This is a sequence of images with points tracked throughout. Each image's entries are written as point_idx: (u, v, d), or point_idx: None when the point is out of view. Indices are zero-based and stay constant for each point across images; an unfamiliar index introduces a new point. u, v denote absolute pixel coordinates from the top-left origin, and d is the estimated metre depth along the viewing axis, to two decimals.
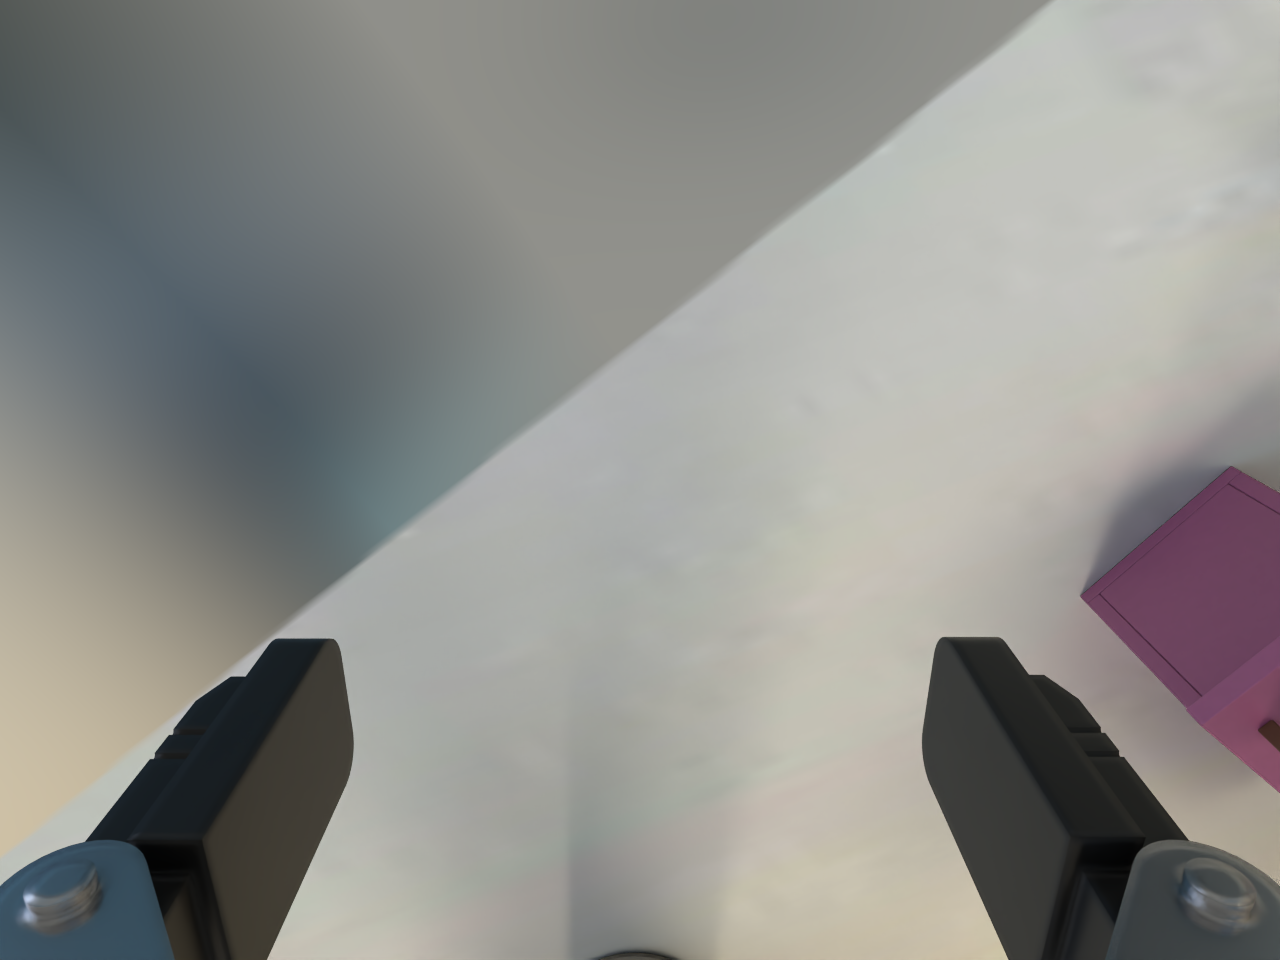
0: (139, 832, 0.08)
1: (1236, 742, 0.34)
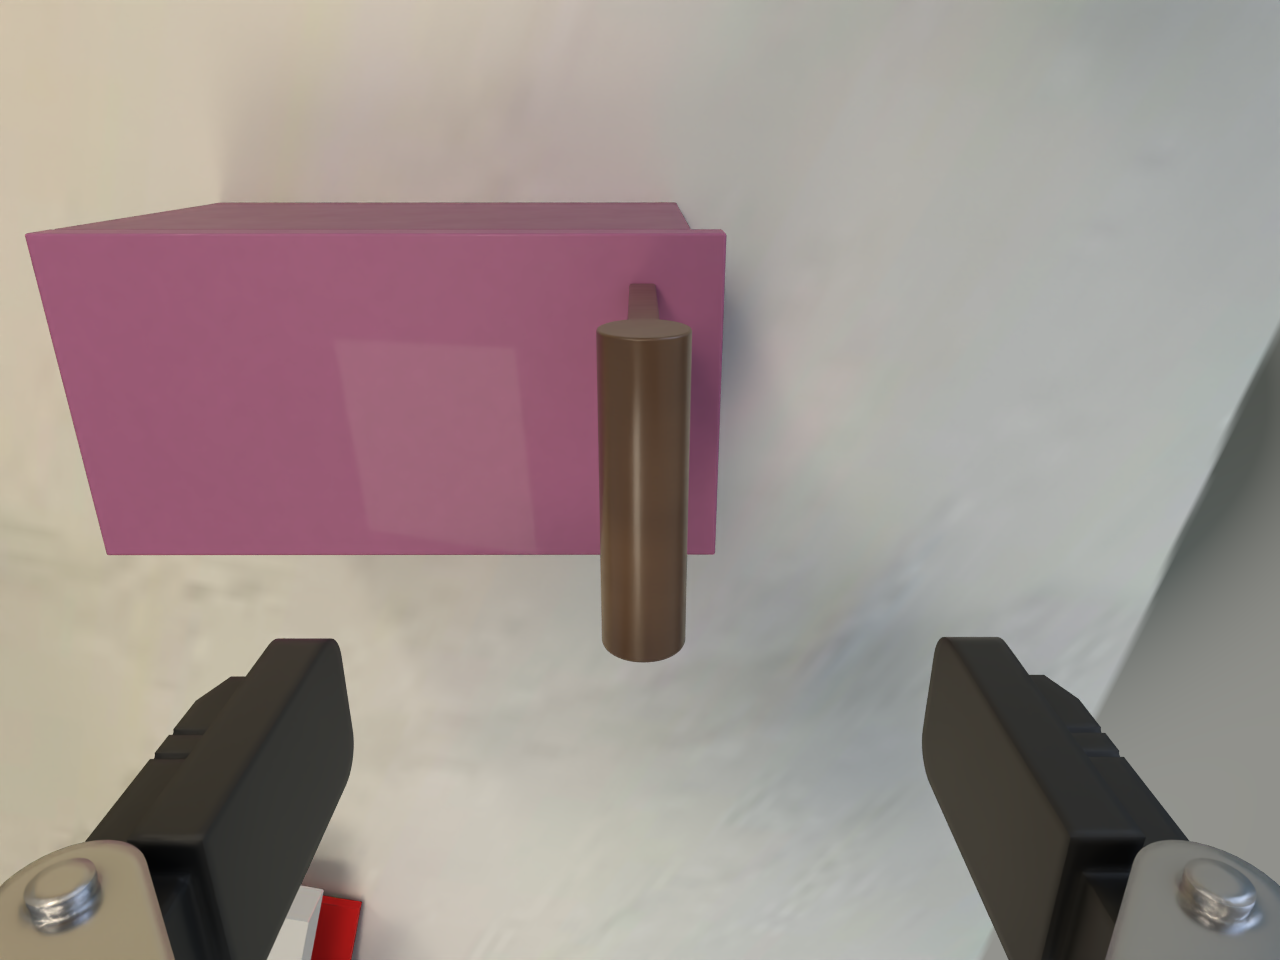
0: (139, 832, 0.08)
1: (659, 250, 0.23)
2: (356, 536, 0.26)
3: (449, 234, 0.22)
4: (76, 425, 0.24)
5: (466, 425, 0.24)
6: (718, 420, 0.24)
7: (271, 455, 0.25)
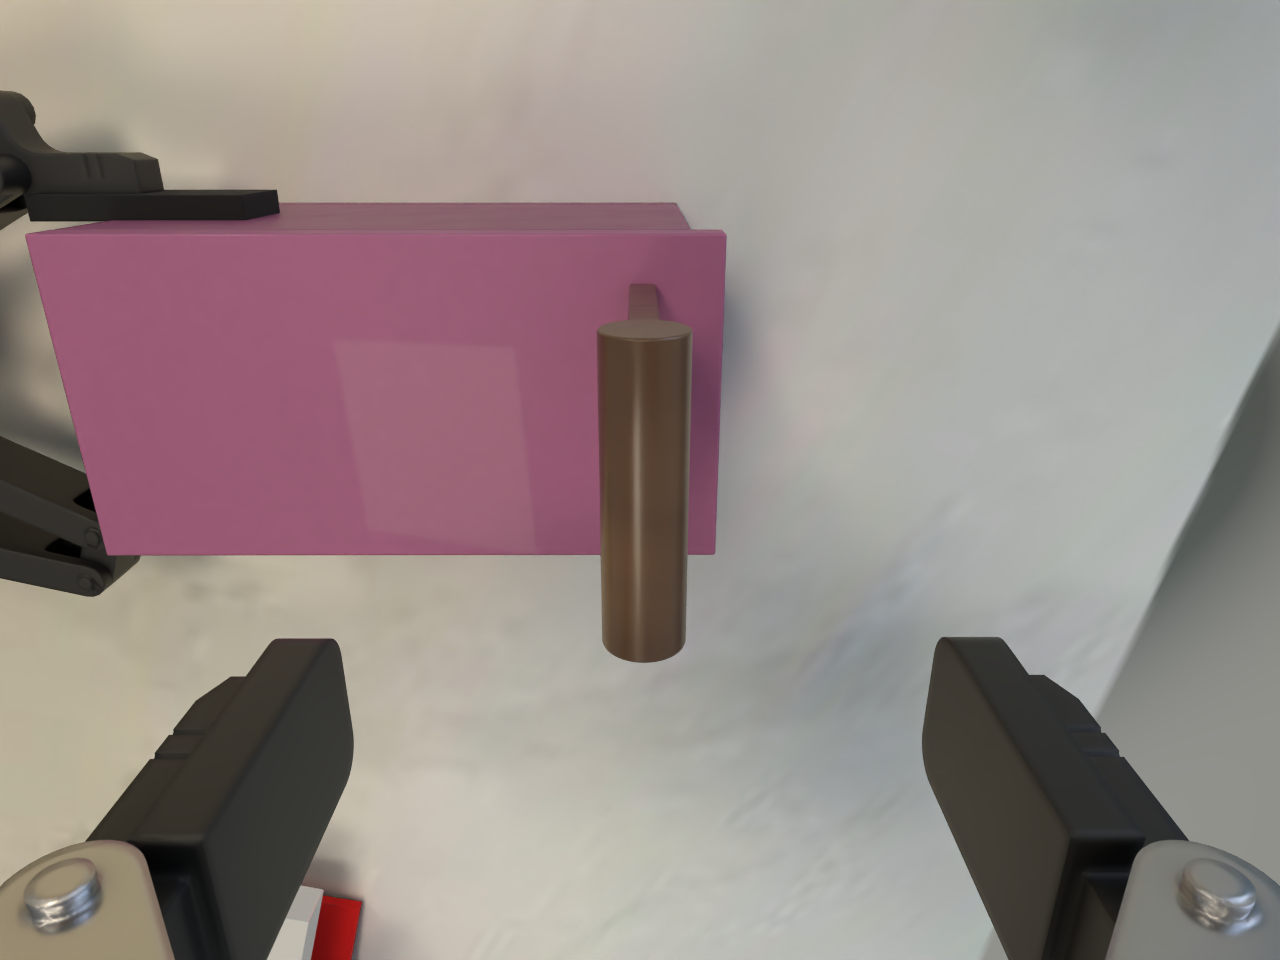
0: (139, 832, 0.08)
1: (659, 250, 0.23)
2: (356, 536, 0.26)
3: (449, 234, 0.22)
4: (76, 426, 0.24)
5: (466, 425, 0.24)
6: (718, 420, 0.24)
7: (271, 455, 0.25)
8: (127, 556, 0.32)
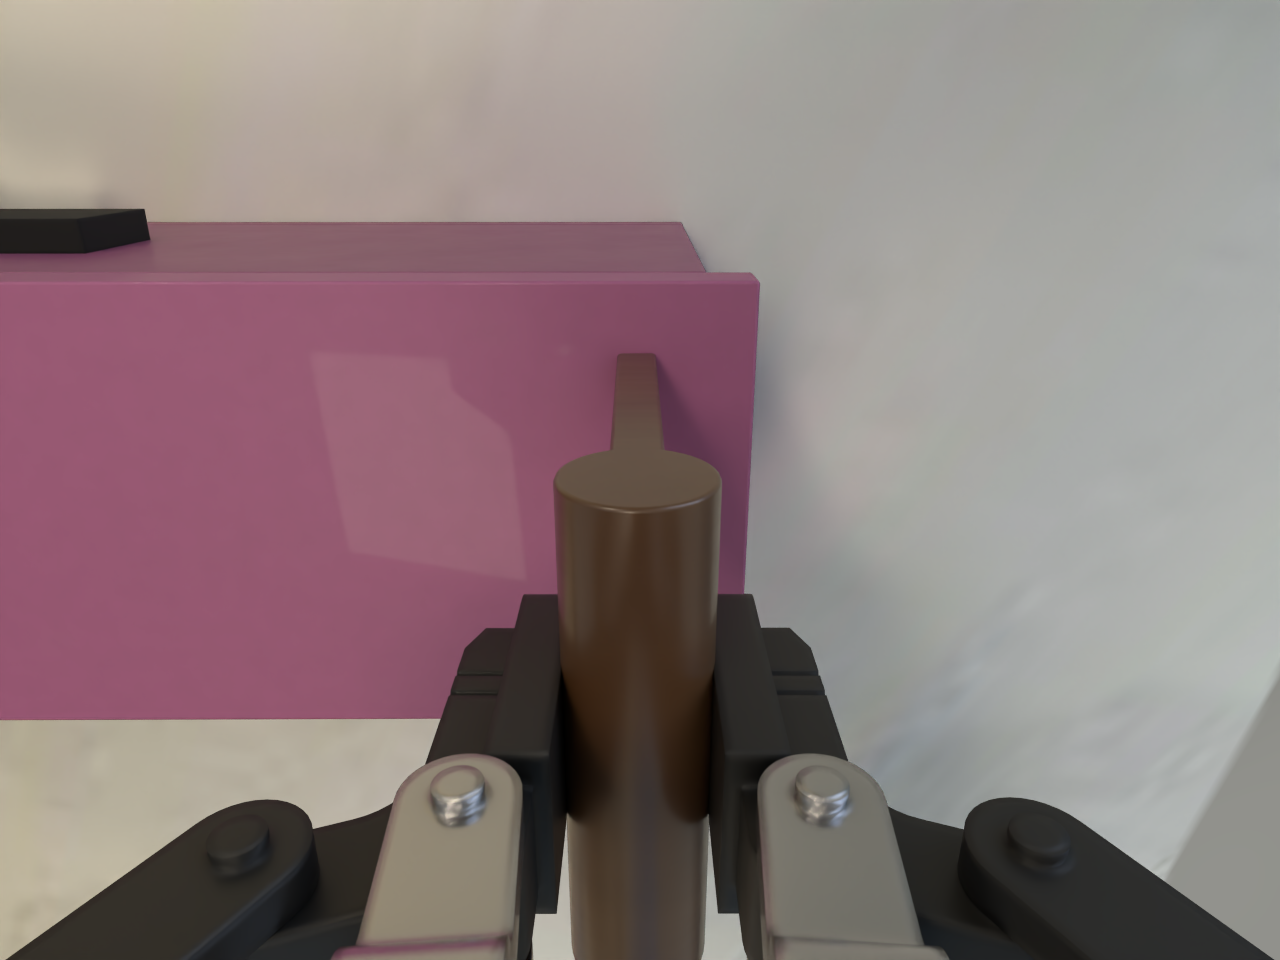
0: (491, 748, 0.09)
1: (661, 305, 0.15)
2: (238, 695, 0.18)
3: (350, 282, 0.15)
4: None
5: (386, 549, 0.17)
6: (745, 542, 0.17)
7: (110, 590, 0.17)
8: None
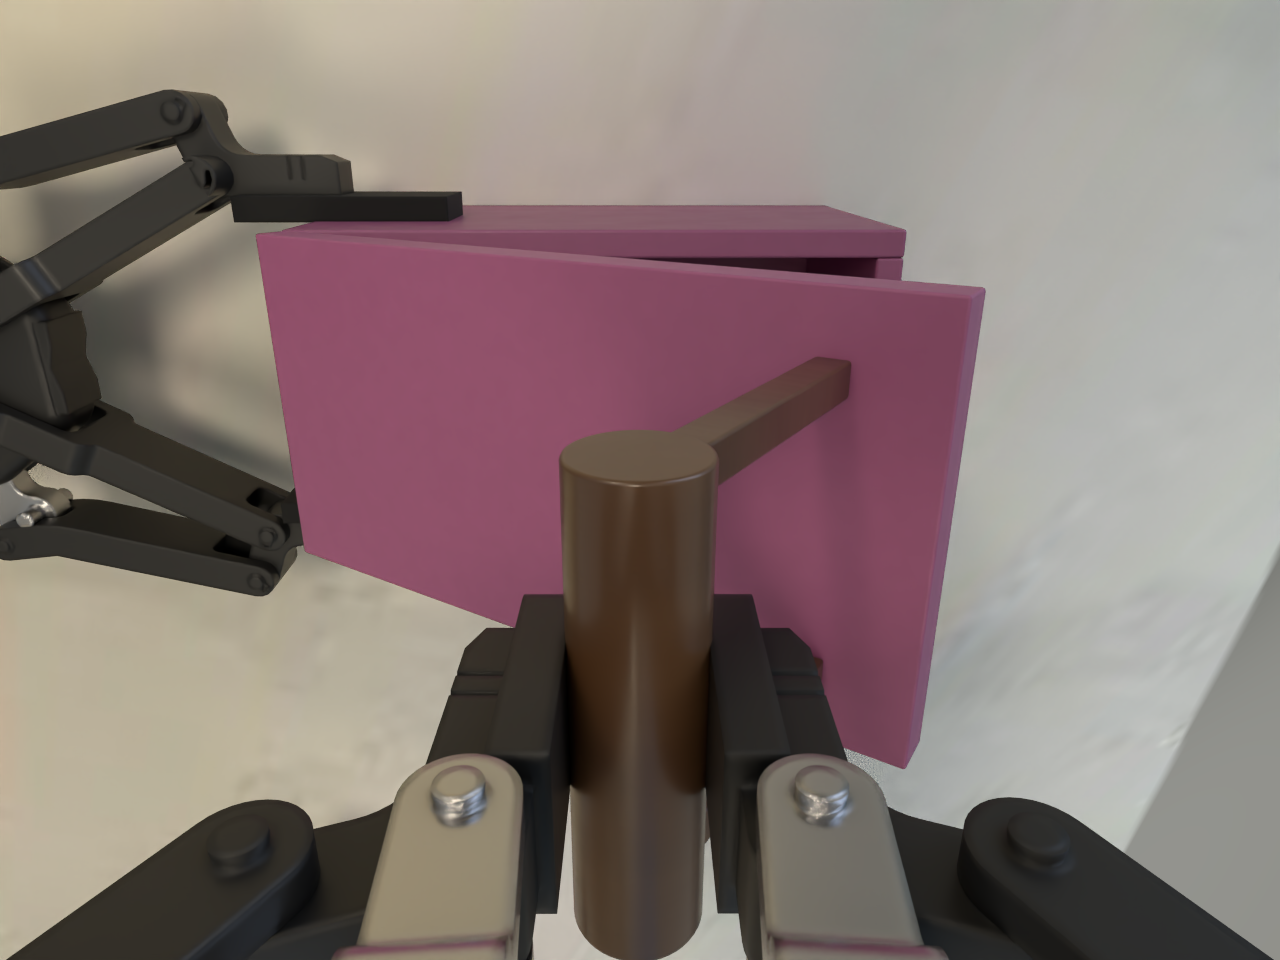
0: (492, 748, 0.09)
1: (862, 312, 0.15)
2: (493, 600, 0.22)
3: (599, 264, 0.17)
4: (286, 424, 0.25)
5: None
6: (930, 580, 0.16)
7: (424, 491, 0.22)
8: (290, 556, 0.32)
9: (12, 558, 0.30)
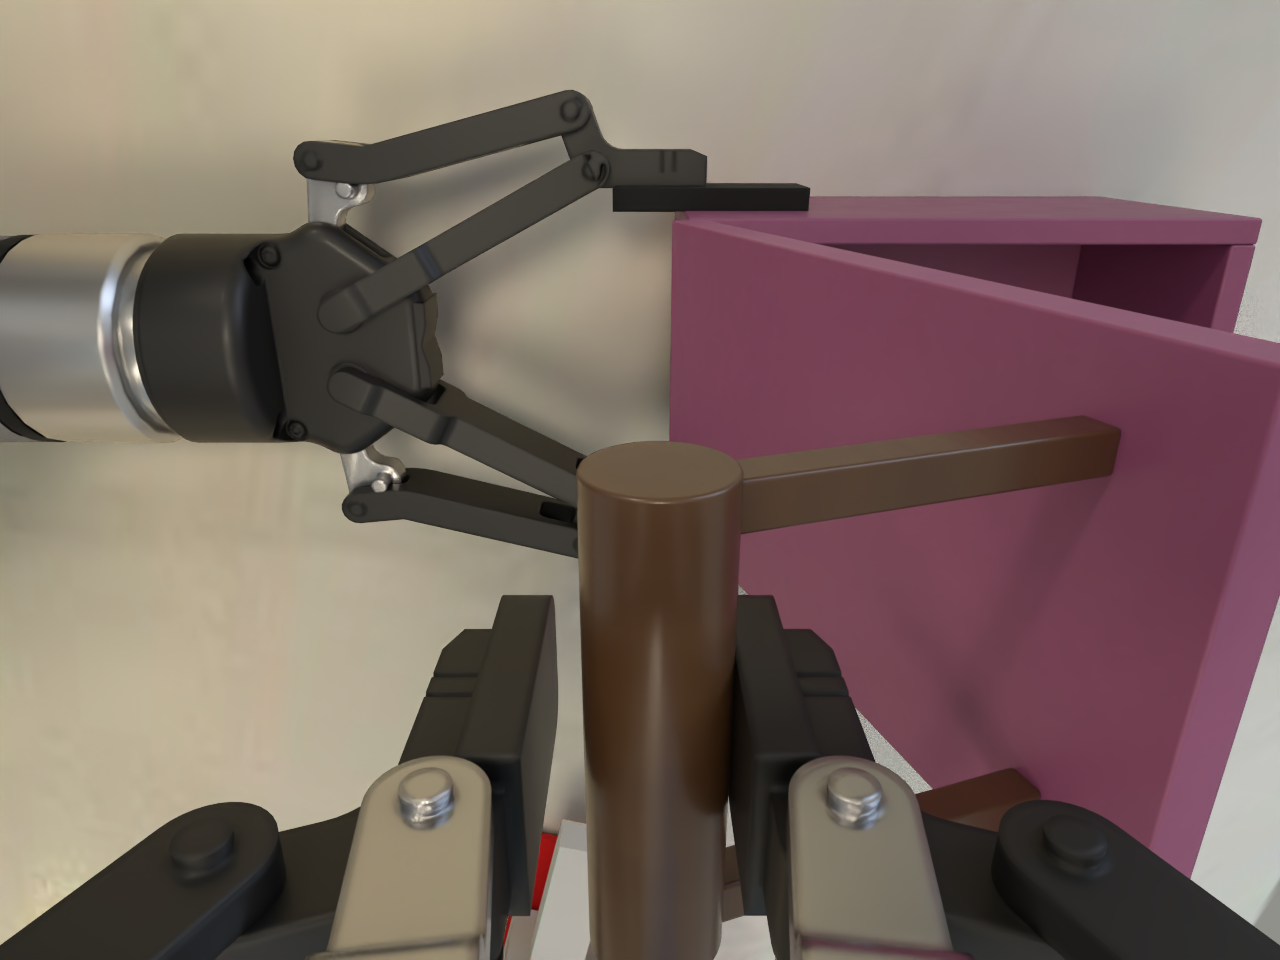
0: (462, 750, 0.09)
1: (1144, 367, 0.11)
2: (776, 602, 0.22)
3: (894, 274, 0.16)
4: (670, 393, 0.27)
5: (867, 535, 0.18)
6: (1177, 747, 0.11)
7: None
8: None
9: (361, 520, 0.33)
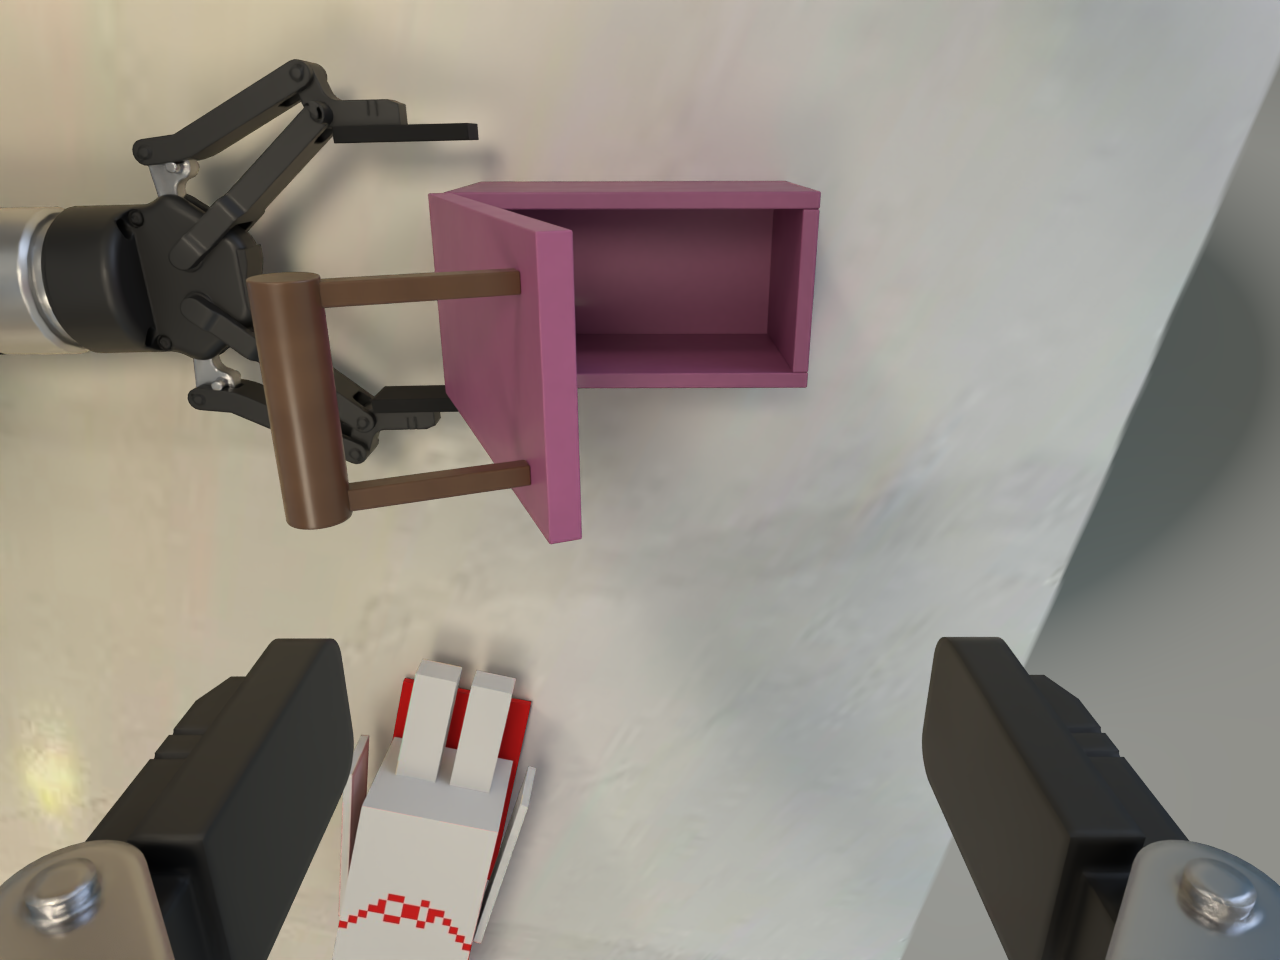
0: (139, 832, 0.08)
1: (519, 241, 0.25)
2: (476, 425, 0.36)
3: (479, 212, 0.29)
4: (438, 309, 0.41)
5: (489, 362, 0.31)
6: (543, 413, 0.25)
7: (461, 353, 0.36)
8: (375, 439, 0.49)
9: (200, 408, 0.47)
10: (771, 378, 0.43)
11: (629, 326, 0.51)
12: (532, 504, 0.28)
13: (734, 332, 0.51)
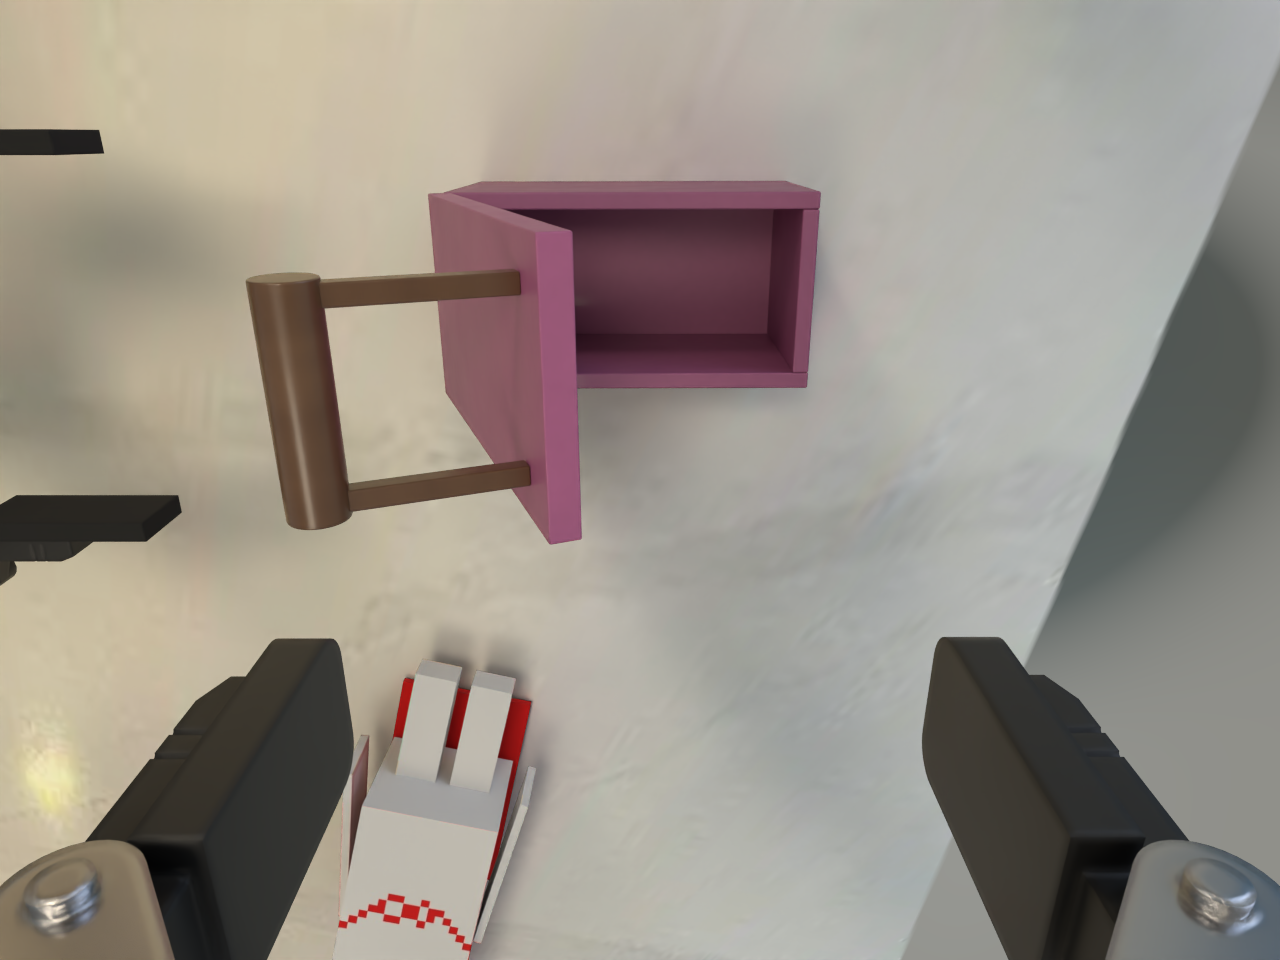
0: (139, 832, 0.08)
1: (519, 241, 0.25)
2: (476, 425, 0.36)
3: (479, 212, 0.29)
4: (438, 310, 0.41)
5: (489, 362, 0.31)
6: (543, 413, 0.25)
7: (461, 353, 0.36)
8: (0, 570, 0.34)
9: None
10: (771, 378, 0.43)
11: (629, 326, 0.51)
12: (532, 504, 0.28)
13: (734, 332, 0.51)
